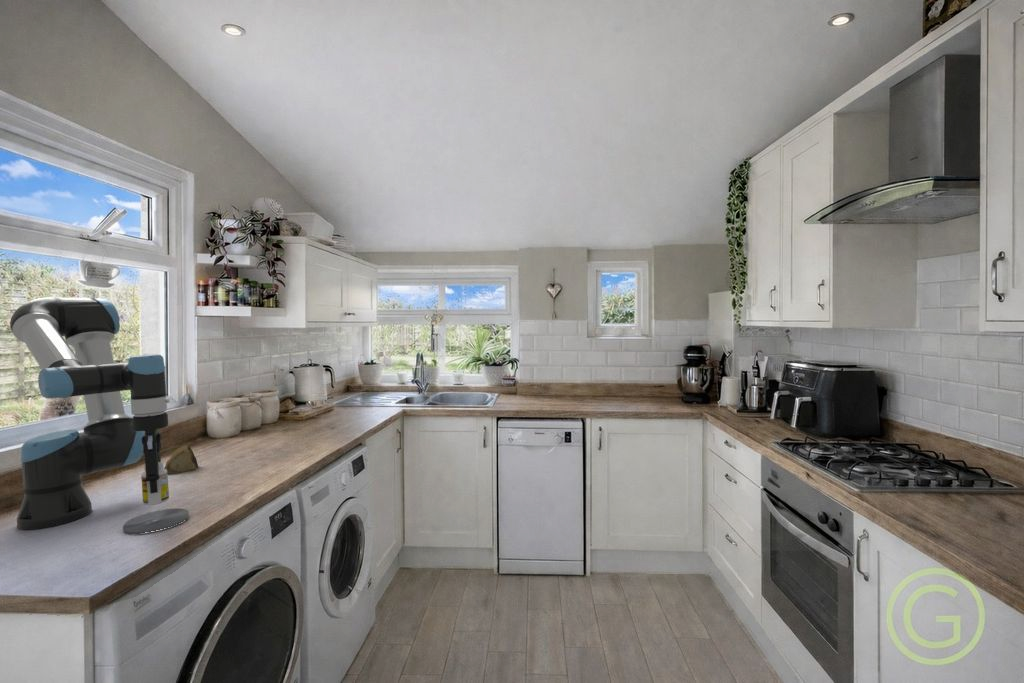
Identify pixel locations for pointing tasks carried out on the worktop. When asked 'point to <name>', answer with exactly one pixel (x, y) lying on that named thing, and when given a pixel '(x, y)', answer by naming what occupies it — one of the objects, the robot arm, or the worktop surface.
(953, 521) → the worktop surface
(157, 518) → the plate
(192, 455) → the rock
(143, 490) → the supplement bottle
